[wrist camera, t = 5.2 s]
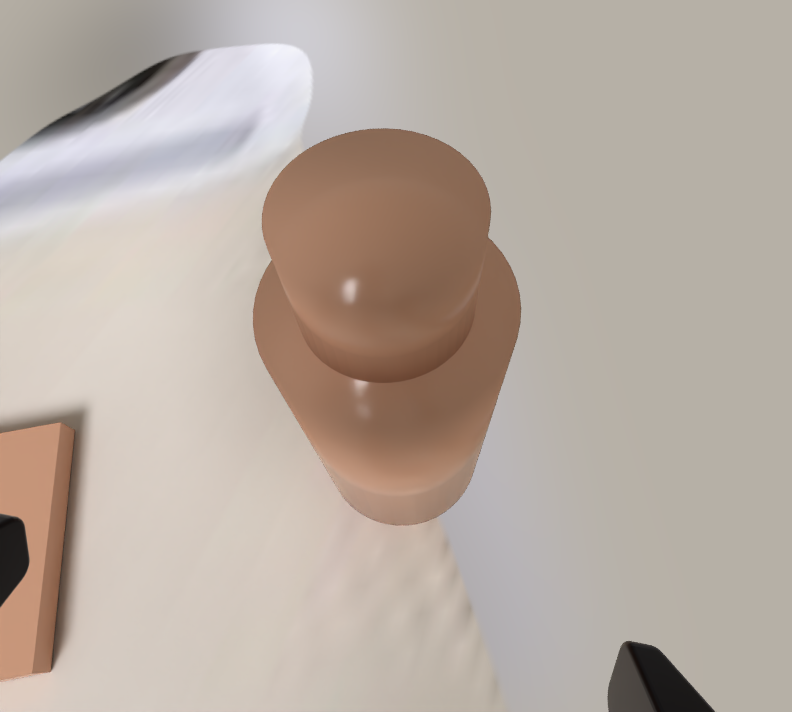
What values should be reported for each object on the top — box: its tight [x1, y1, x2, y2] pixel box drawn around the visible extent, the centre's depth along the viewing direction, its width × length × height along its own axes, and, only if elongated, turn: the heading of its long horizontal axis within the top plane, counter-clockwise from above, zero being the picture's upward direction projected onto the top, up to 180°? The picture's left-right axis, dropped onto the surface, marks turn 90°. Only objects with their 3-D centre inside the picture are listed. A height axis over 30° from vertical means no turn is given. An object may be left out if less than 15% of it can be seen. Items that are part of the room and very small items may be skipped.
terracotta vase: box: [253, 129, 521, 525], centre depth 16 cm, size 6×6×14 cm
